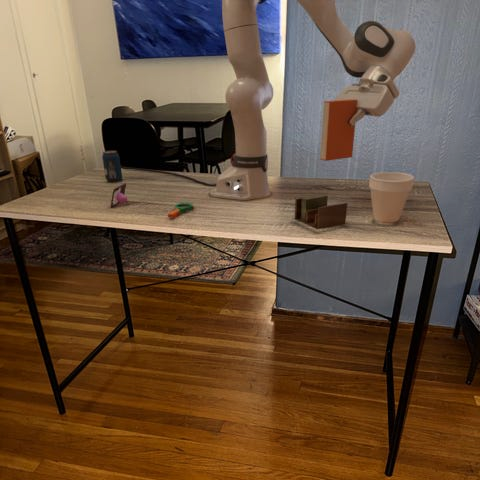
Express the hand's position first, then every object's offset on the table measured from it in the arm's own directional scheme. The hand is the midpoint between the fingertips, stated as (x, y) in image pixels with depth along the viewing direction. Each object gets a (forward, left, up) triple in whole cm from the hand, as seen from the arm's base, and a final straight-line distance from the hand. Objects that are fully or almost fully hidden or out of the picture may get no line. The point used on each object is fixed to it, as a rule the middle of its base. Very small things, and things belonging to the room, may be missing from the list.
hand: (345, 123), depth 135 cm
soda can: (-98, +23, -27) cm, 104 cm away
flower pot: (+15, -7, -27) cm, 32 cm away
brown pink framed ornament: (-75, -9, -27) cm, 80 cm away
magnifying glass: (-50, -13, -27) cm, 59 cm away
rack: (-4, -14, -27) cm, 31 cm away
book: (-2, -2, -10) cm, 10 cm away
